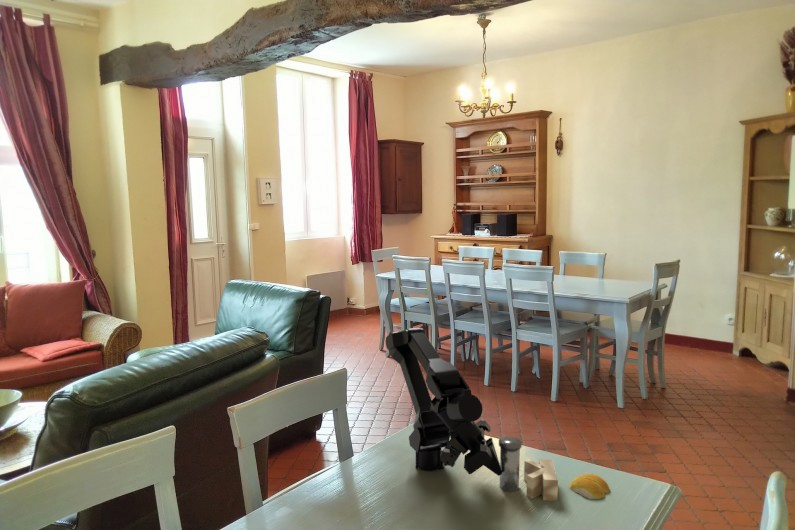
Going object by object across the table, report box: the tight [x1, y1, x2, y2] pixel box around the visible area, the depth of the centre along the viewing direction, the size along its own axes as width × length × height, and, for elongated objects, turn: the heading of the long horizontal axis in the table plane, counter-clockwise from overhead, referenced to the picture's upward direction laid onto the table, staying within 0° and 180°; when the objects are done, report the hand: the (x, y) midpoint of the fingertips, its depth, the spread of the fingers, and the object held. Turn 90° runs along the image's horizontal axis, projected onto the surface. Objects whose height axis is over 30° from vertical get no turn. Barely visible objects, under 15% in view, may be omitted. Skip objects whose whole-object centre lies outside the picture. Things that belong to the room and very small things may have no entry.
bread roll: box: [568, 473, 611, 500], centre depth 132 cm, size 8×9×4 cm
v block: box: [523, 458, 559, 502], centre depth 131 cm, size 6×10×5 cm, turn 172°
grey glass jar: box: [498, 436, 523, 492], centre depth 132 cm, size 5×5×11 cm
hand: (500, 474), depth 131 cm, fingers closed
